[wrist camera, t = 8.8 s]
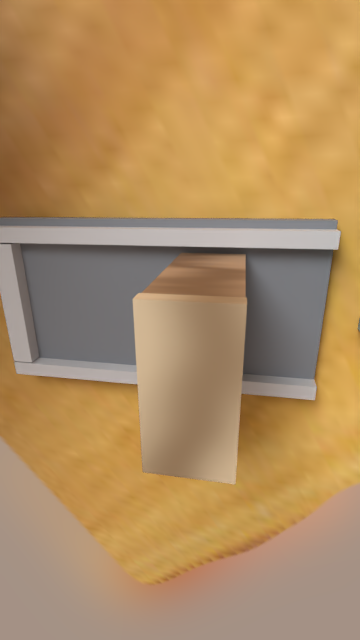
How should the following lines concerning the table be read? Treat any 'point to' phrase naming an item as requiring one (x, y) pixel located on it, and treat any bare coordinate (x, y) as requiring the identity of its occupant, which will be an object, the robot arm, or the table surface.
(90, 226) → the track
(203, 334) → the tan rectangular block
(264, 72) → the table surface
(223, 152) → the table surface
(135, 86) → the table surface
